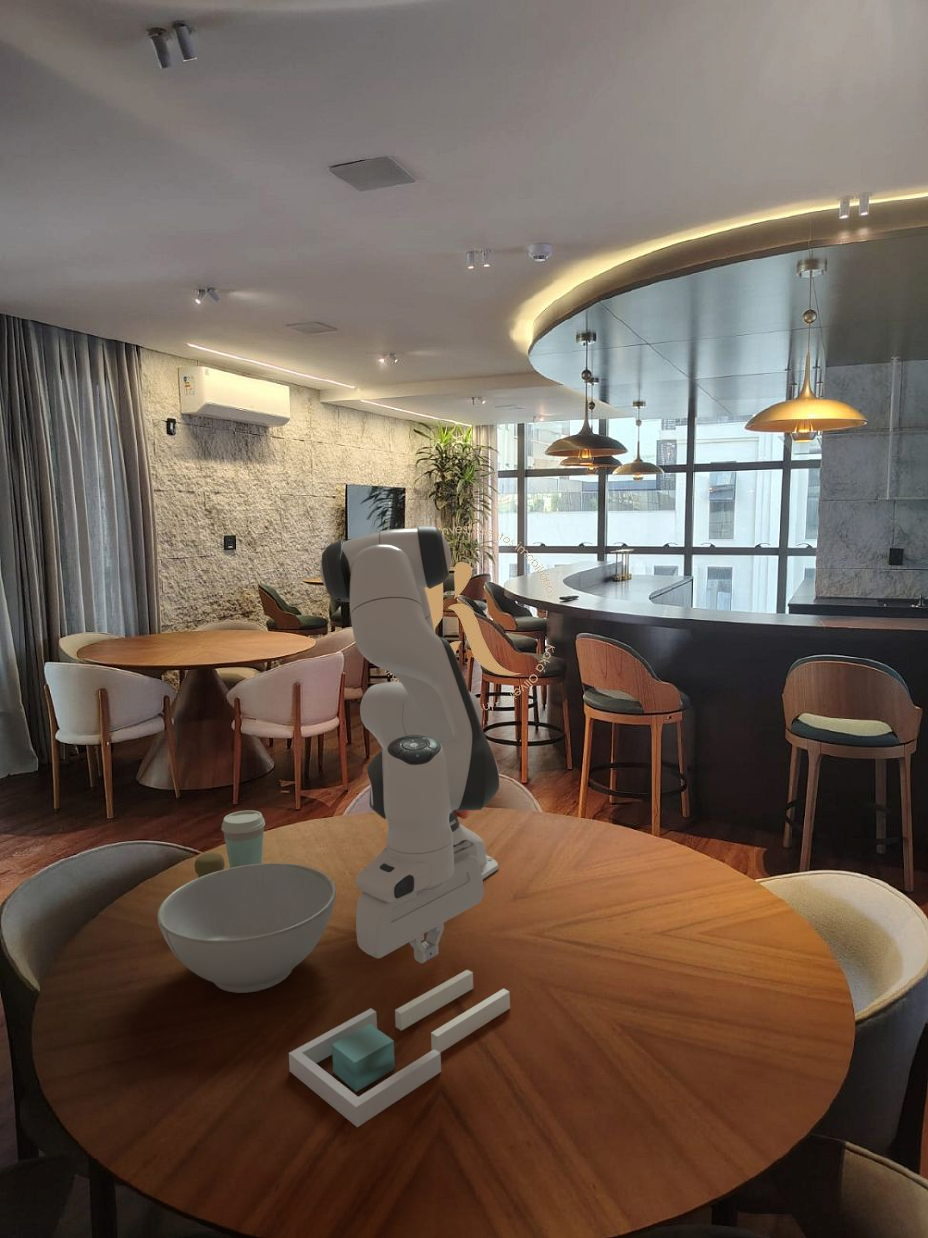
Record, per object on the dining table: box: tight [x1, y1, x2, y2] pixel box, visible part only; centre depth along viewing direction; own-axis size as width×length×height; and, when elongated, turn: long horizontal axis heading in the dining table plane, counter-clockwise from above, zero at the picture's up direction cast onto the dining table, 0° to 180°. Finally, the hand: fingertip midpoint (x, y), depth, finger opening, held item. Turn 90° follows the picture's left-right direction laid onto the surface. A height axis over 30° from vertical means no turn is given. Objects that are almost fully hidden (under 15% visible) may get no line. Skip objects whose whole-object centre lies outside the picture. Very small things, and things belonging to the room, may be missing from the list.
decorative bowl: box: [157, 862, 337, 994], centre depth 127 cm, size 27×27×12 cm
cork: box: [194, 852, 226, 878], centre depth 147 cm, size 6×6×11 cm
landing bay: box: [288, 1007, 442, 1128], centre depth 103 cm, size 13×14×2 cm
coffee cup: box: [220, 809, 266, 868], centre depth 164 cm, size 8×9×12 cm
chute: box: [394, 969, 511, 1053], centre depth 114 cm, size 14×9×2 cm, turn 134°
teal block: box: [331, 1024, 396, 1093], centre depth 103 cm, size 6×5×4 cm
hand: (426, 957), depth 109 cm, fingers closed
